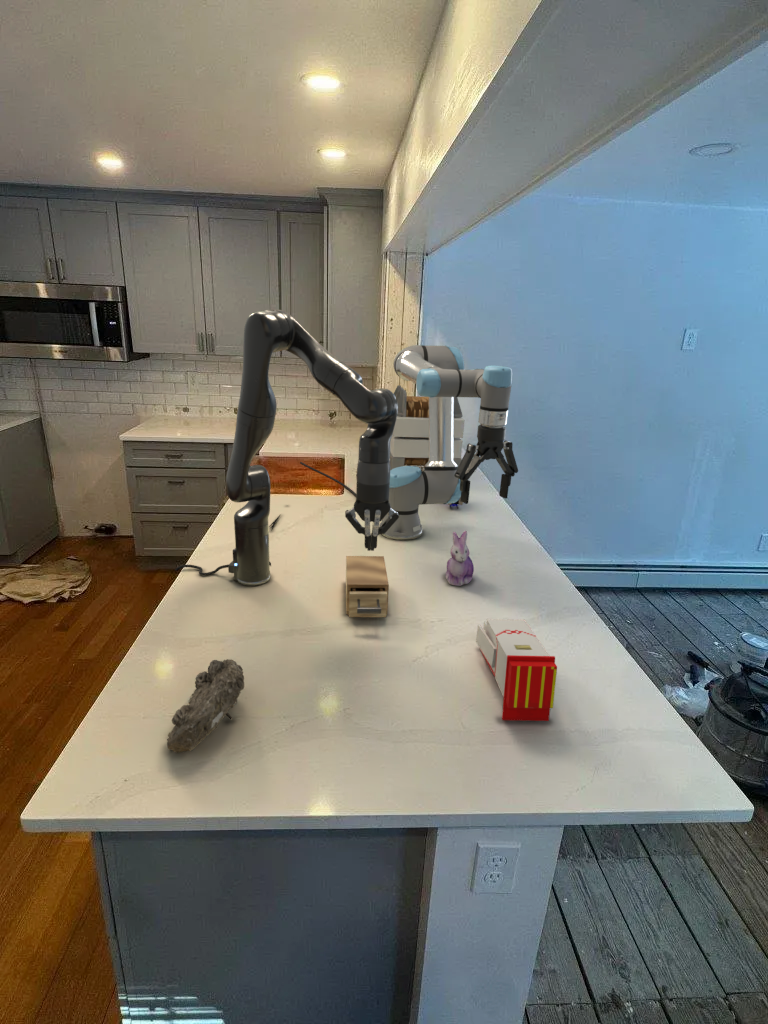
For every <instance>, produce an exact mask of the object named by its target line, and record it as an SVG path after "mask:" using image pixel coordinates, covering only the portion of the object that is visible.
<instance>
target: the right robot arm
mask: <svg viewBox="0 0 768 1024" xmlns="http://www.w3.org/2000/svg"><path fill="white" fill-rule="evenodd" d="M393 370H394V373H395V374H396V376H398V377H399V378H400V379H402V380H403V381H407V382H412V383H413V384H415V386H416V387H415V388H416V390H417V394H418V395H419V397H429V461H428V462H427V464H426V465H425V466H423V467H424V468H423V469H424V470H422V469H421V467H420V466H407V465H404V466H401V467H397V468H394V469H392V470H390V488H389V503H390V506H391V508H392V509H393V510H394V511H397V512H398V514H399V518H398V519H397V520H396V521H395V523H394V524H393V525H392V526H391V527H390V528H389V529H388V530H387V532H386V533H385V534H380V535H381V536H382V537H385V538H387V539H389V540H395V541H410V540H415V539H418V538H420V537H421V536H422V535H423V525H422V524H421V518H420V515H419V507H420V505H448V504H449V503H455V502H457V501H458V500H459V499H460V497H461V500H460V501H461V502H463V504H465V505H467V504H469V502H470V501H469V499H470V491H471V480H470V478H471V477H472V475H473V474H474V473H475V472H476V471H477V469H478V468H479V466H480V465H481V464H482V463H483V462H484V461H489V460H496V462H497V464H498V465H499V467H500V468H501V470H502V471H503V473H501V477H500V486H499V493H498V496H499V497H500V498H503V499H508V496H509V495H508V494H509V487H510V486H511V482H512V477H513V478H514V477H515V476H516V474H518V472H519V468H518V464H517V461H516V458H515V454H514V451H513V442H512V441H509V440H506V433H507V428H506V425H507V424H508V416H509V407H510V400H511V391H512V385H513V370H512V368H511V367H509V366H503V365H486V366H485V367H484V368H472V369H465V360H464V356H463V354H462V352H461V350H460V349H459V348H458V347H456V346H450V345H423V344H422V345H420V344H414V345H408V346H406V347H404V348H403V349H401V350H400V351H399V352H398V353H397V354H396V355H395V356H394V359H393ZM454 397H457V398H478V399H480V405H479V412H478V423H479V425H477V433H476V438H477V443H476V444H473V443H467V444H466V450H465V453H464V454H463V456H462V457H461V458H462V461H461V463H460V465H459V467H458V465H457V464H456V463H455V462H454V461H453V410H454ZM502 451H503V452H504V453H503V452H502ZM299 464H300V465H302V466H304V467H305V468H307V469H309V470H312V471H314V472H315V473H318V474H319V475H322V476H324V477H326V478H328V479H330V480H331V481H334V482H335V483H337V484H339V485H340V486H342V487H343V488H345V489H346V490H348V491H349V492H350V493H351V494H352V495H353V496H355V497H356V491H354V490H353V489H351V488H350V487H349V486H348V485H346V484H345V483H344V482H341V481H340V480H338V479H336V478H335V477H333V476H330V475H328V474H326V473H324V472H322V471H320V470H318V469H316V468H314V467H312V466H311V465H307V464H306V463H304V462H303V461H300V462H299ZM388 514H389V512H388V513H387V515H386V516H385V517H384V518H383V519H382V520H381V521H380V523H379V527H380V526H381V525H382V524H383V523H384V522H385V521H386V520H387V518H388Z"/></svg>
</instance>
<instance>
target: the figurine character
mask: <svg viewBox="0 0 768 1024" xmlns="http://www.w3.org/2000/svg"><path fill="white" fill-rule="evenodd" d="M460 500H461V497H460V499H459V500H458V501H457V502H455V503H449V504H447V506H449V509H450V510H451V509H452V507H455V508H456V509H457V510H458V509H459V506H463V504H464V503H463V502H461V501H460Z"/></svg>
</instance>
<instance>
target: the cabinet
mask: <svg viewBox="0 0 768 1024" xmlns="http://www.w3.org/2000/svg"><path fill="white" fill-rule="evenodd" d="M345 557H346V558H345V611H346V612H345V614H346V615H348V616H349V591H351V588H383V591H387V607H386V616H387V615H388V609H389V608H388V607H389V606H388V605H389V590H390V589H389V586H390V583H389V578H388V572H387V565H386V561H385V556H384V555H346V556H345Z"/></svg>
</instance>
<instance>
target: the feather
mask: <svg viewBox="0 0 768 1024" xmlns="http://www.w3.org/2000/svg"><path fill="white" fill-rule="evenodd" d="M286 506H288V504H287V505H286ZM281 515H282V513H281V514H279V516H277V517H276V518H275V519H274V520H273V521H272V523H270V524H269V525H268V527H270V528H271V529H270V530H271V532H272V531H273V529H274V527H275V525H276V524H277V522H278V520H279V518H281V517H280V516H281Z"/></svg>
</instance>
